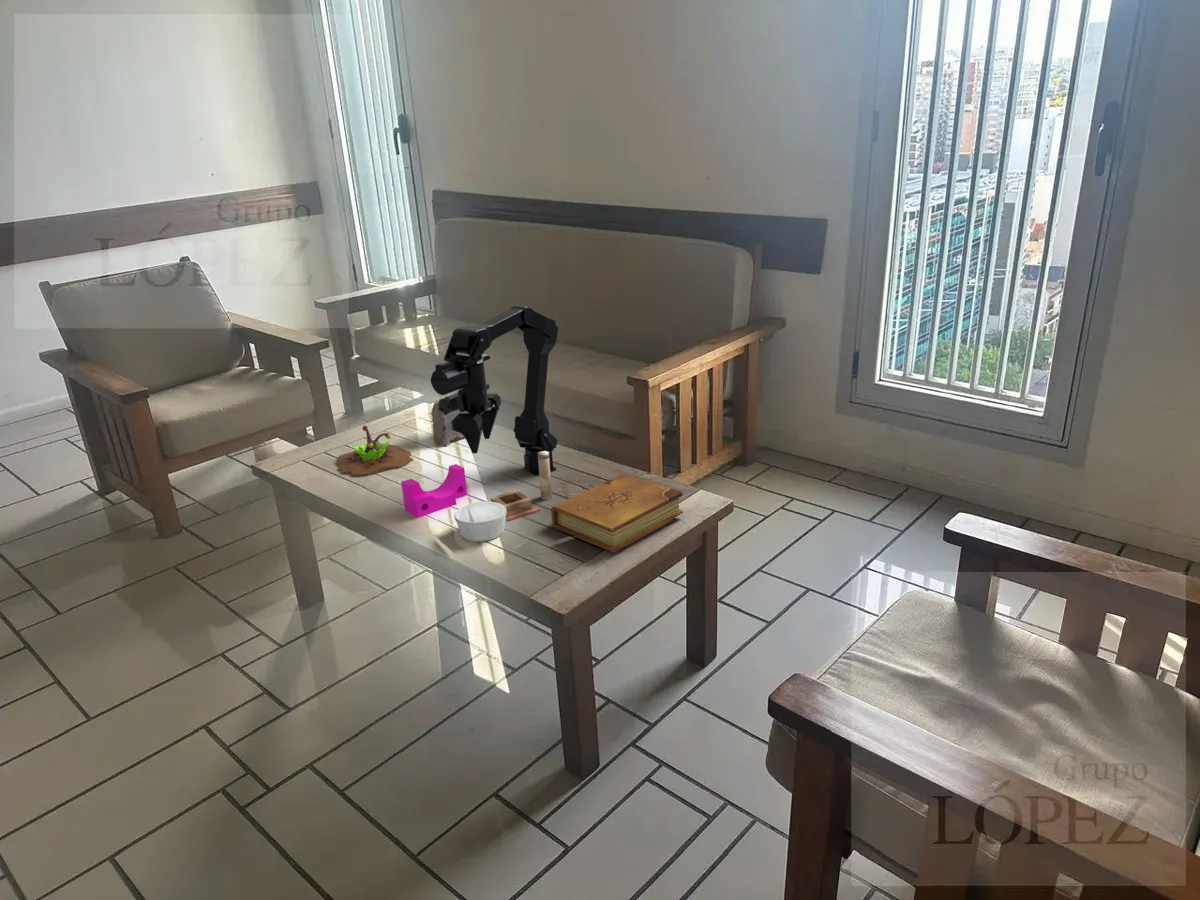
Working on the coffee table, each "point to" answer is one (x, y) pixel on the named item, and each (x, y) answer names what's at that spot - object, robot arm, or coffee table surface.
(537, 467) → the robot arm
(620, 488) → the diary
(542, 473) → the dowel
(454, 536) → the coffee table surface
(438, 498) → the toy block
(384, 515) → the coffee table surface
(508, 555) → the coffee table surface
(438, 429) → the geological specimen
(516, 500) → the wooden square frame
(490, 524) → the ramekin
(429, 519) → the coffee table surface
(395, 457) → the plant
